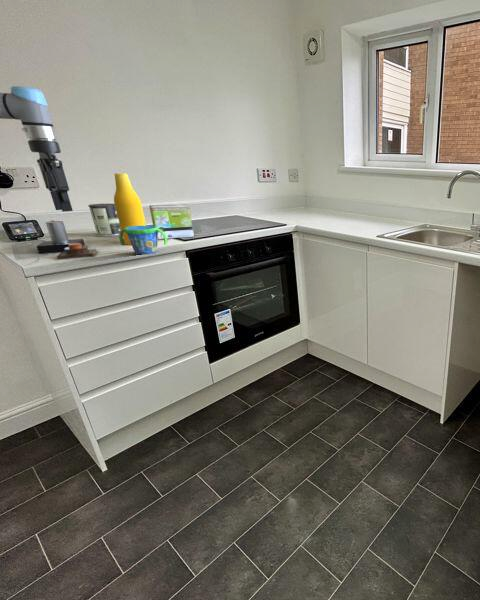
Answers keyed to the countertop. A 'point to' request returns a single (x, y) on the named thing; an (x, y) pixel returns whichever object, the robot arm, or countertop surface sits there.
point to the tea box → (172, 220)
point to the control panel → (56, 246)
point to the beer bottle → (127, 205)
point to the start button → (75, 246)
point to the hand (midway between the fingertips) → (64, 210)
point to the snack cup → (143, 238)
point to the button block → (77, 253)
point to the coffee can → (105, 219)
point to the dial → (57, 231)
